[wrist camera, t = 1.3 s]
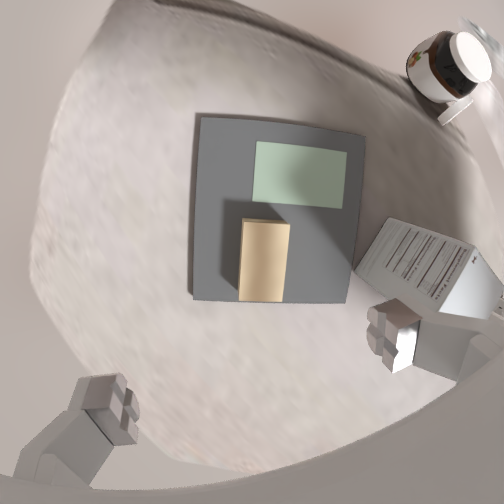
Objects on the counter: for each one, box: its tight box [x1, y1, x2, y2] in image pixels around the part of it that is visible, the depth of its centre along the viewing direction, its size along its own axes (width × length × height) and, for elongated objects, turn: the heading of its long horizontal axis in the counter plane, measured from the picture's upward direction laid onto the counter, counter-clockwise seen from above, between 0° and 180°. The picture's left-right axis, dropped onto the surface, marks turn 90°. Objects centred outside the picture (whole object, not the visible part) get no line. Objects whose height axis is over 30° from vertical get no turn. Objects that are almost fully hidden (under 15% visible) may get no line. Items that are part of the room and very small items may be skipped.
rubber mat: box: [193, 117, 366, 304], centre depth 35 cm, size 20×22×1 cm
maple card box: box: [238, 218, 290, 302], centre depth 34 cm, size 5×9×3 cm, turn 176°
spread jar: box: [406, 31, 492, 126], centre depth 27 cm, size 12×11×12 cm
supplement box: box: [354, 217, 504, 320], centre depth 30 cm, size 10×9×17 cm
